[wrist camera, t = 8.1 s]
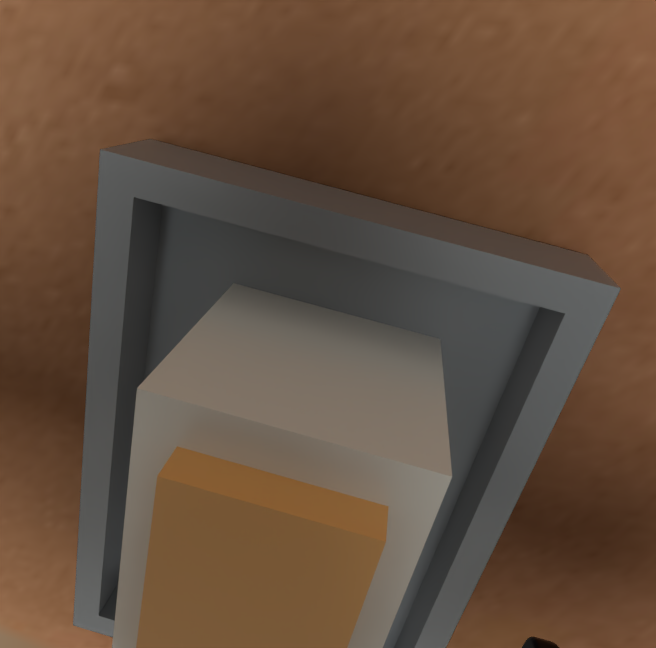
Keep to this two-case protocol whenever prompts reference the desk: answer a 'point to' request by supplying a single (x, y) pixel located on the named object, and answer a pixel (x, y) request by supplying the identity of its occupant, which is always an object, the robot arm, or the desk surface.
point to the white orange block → (280, 479)
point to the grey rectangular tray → (343, 296)
